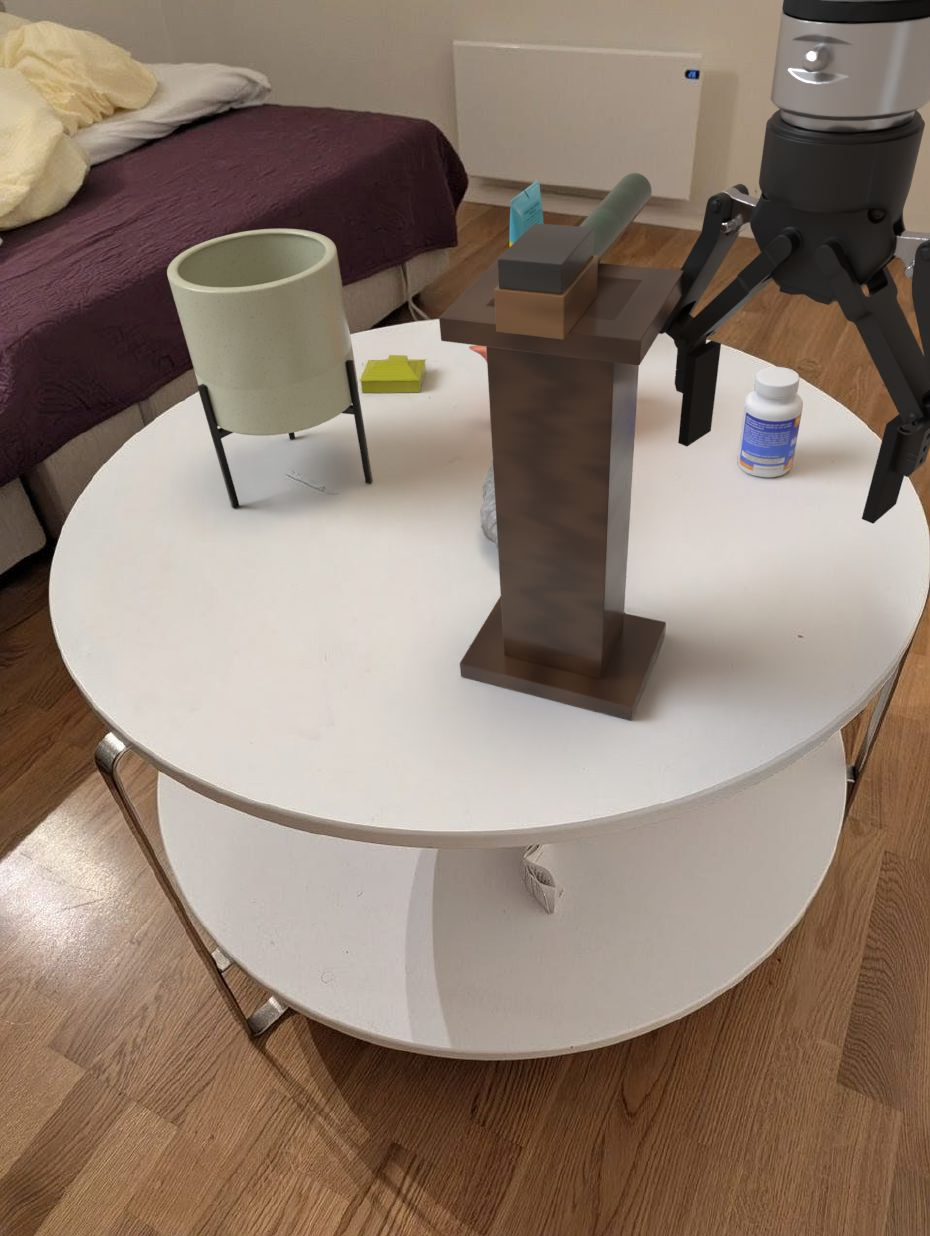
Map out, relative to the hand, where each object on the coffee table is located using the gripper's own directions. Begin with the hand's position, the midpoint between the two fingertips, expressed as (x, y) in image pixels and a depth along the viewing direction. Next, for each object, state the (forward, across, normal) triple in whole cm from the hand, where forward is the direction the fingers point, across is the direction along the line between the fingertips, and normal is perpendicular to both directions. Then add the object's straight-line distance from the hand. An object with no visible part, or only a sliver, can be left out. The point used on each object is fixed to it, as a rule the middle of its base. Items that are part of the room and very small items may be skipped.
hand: (780, 472), depth 60 cm
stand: (+18, -11, -8) cm, 23 cm away
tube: (+18, -52, +30) cm, 62 cm away
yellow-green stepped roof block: (+18, -59, +13) cm, 63 cm away
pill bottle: (+18, -15, +26) cm, 35 cm away
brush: (-12, -13, -4) cm, 18 cm away
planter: (+18, -50, -7) cm, 54 cm away
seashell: (+18, -26, +1) cm, 32 cm away
